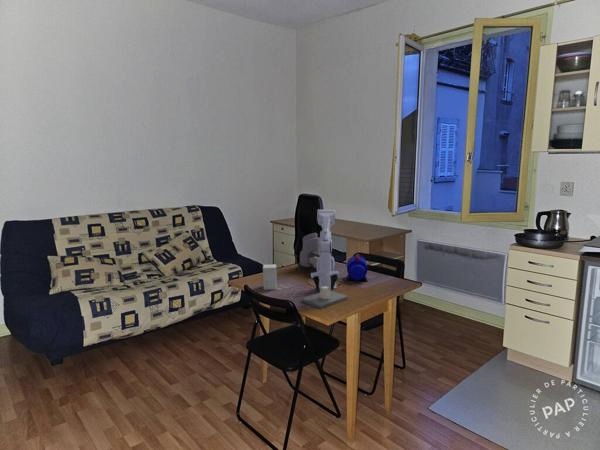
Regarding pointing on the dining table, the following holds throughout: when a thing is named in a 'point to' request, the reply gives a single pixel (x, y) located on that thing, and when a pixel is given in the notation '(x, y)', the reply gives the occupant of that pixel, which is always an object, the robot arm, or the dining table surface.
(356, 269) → the alarm clock
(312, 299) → the post board
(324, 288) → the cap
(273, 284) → the supplement box
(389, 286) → the dining table surface
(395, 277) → the dining table surface
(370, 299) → the dining table surface
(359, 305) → the dining table surface
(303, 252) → the juicer
